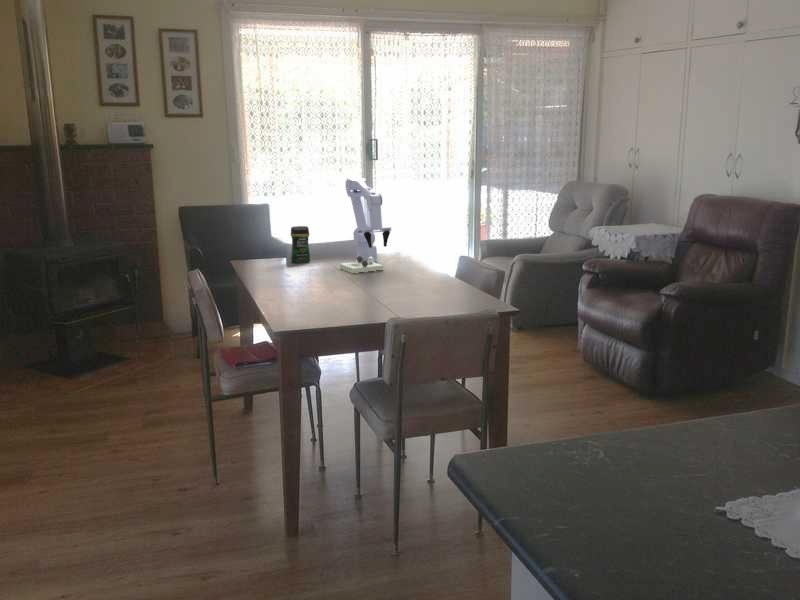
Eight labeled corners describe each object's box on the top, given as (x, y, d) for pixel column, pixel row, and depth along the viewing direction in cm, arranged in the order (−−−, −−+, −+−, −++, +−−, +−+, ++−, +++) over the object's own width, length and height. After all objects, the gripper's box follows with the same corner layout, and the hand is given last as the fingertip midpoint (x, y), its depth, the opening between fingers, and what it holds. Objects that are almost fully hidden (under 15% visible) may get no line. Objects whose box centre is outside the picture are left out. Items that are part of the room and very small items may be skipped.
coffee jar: (292, 263, 371) (291, 227, 367) (290, 261, 378) (289, 225, 374) (311, 262, 374) (310, 226, 369) (309, 260, 381) (307, 224, 377)
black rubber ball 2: (366, 265, 350) (366, 259, 349) (369, 266, 347) (368, 260, 347) (360, 266, 349) (360, 260, 348) (363, 267, 346) (363, 261, 345)
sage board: (369, 265, 364) (369, 260, 364) (383, 270, 352) (383, 265, 351) (340, 268, 357) (340, 263, 356) (353, 273, 344) (352, 268, 344)
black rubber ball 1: (361, 261, 362) (361, 255, 361) (363, 262, 359) (363, 256, 358) (355, 262, 360) (355, 256, 360) (358, 262, 358) (358, 256, 357)
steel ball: (372, 262, 358) (372, 256, 357) (375, 263, 355) (374, 257, 355) (366, 263, 357) (366, 256, 356) (369, 264, 354) (369, 257, 353)
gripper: (363, 219, 348) (366, 248, 349) (392, 218, 353) (394, 246, 354) (359, 220, 355) (361, 248, 356) (387, 218, 359) (389, 246, 361)
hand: (377, 247), depth 355 cm, fingers open, 7 cm apart
